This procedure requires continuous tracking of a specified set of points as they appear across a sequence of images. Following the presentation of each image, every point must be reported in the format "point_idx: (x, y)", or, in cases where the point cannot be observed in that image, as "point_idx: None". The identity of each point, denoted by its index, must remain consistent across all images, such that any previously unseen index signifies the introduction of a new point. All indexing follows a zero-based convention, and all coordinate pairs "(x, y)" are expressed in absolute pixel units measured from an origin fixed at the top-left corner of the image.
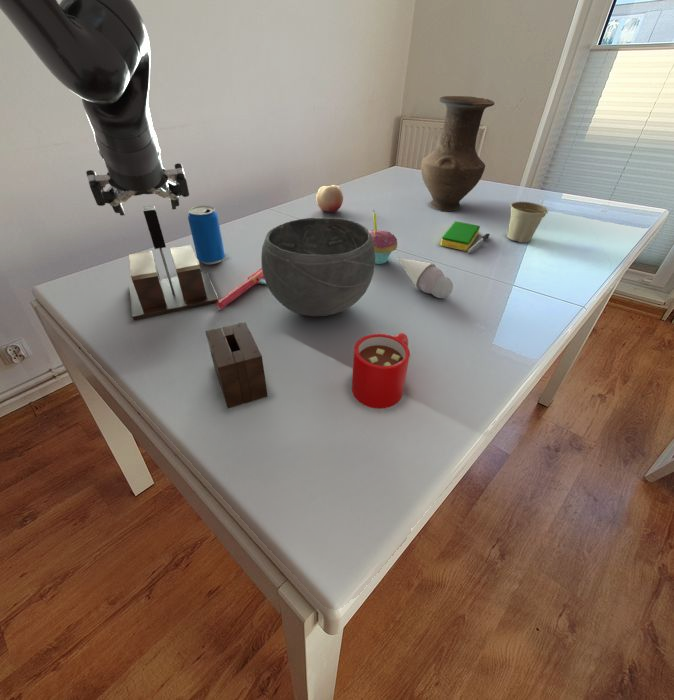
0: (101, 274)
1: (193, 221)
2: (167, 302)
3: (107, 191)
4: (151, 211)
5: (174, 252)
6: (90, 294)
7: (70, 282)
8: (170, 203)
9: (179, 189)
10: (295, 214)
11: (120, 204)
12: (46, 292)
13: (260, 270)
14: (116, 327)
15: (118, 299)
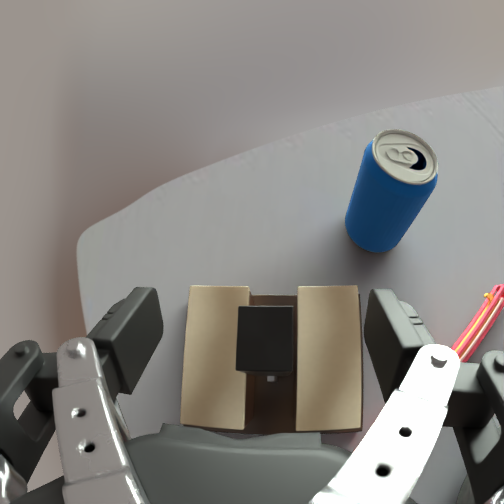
0: (158, 214)
1: (378, 186)
2: (256, 406)
3: (57, 377)
4: (272, 370)
5: (307, 322)
6: (129, 284)
7: (112, 226)
8: (368, 305)
9: (464, 418)
10: (497, 122)
11: (129, 389)
12: (80, 248)
13: (465, 348)
14: (157, 429)
15: (168, 328)
